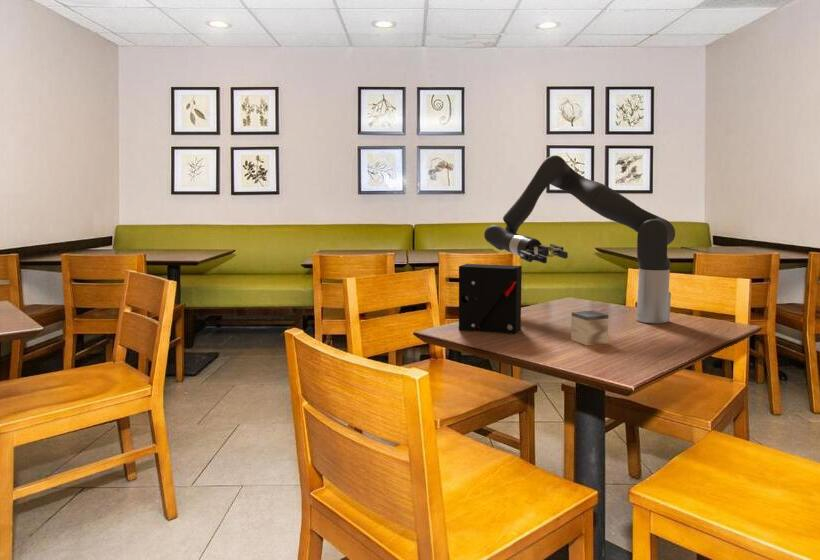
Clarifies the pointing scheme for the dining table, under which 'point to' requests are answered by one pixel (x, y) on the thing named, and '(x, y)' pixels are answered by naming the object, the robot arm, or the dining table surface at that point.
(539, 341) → the dining table surface
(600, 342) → the birch block
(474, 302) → the electrical component
